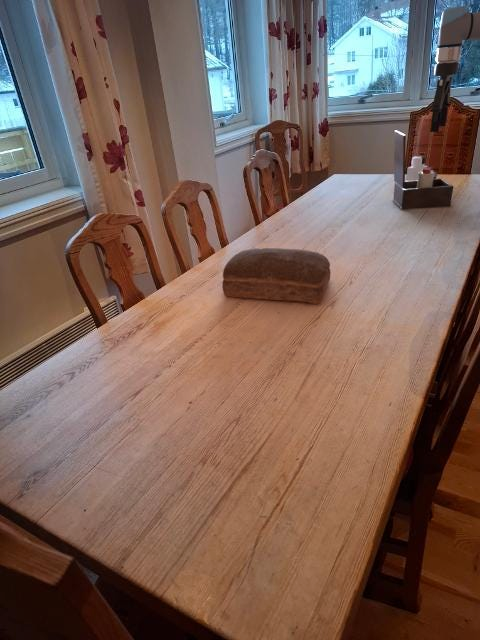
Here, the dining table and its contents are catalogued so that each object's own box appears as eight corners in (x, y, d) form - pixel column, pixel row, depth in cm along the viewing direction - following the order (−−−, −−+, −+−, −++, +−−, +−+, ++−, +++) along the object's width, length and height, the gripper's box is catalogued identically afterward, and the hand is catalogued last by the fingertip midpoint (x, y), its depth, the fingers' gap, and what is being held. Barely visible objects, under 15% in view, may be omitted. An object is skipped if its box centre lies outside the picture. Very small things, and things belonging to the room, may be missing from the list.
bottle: (427, 200, 184) (432, 166, 176) (432, 204, 178) (437, 169, 171) (412, 201, 184) (417, 167, 177) (417, 205, 179) (421, 170, 172)
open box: (438, 197, 188) (441, 178, 184) (450, 206, 177) (453, 186, 172) (393, 200, 190) (394, 181, 186) (401, 209, 178) (403, 189, 174)
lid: (396, 130, 175) (394, 130, 176) (405, 134, 164) (403, 135, 164) (396, 180, 186) (394, 180, 186) (404, 188, 174) (402, 188, 174)
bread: (322, 306, 114) (322, 267, 108) (220, 297, 124) (215, 261, 118) (332, 279, 128) (333, 243, 122) (239, 273, 137) (236, 239, 132)
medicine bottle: (412, 179, 219) (415, 154, 213) (426, 180, 214) (429, 155, 208) (405, 182, 215) (408, 157, 209) (419, 183, 210) (422, 158, 204)
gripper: (442, 61, 158) (433, 124, 169) (428, 64, 141) (419, 134, 151) (464, 59, 155) (454, 123, 165) (453, 62, 137) (442, 134, 148)
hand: (437, 129), depth 158 cm, fingers open, 13 cm apart
